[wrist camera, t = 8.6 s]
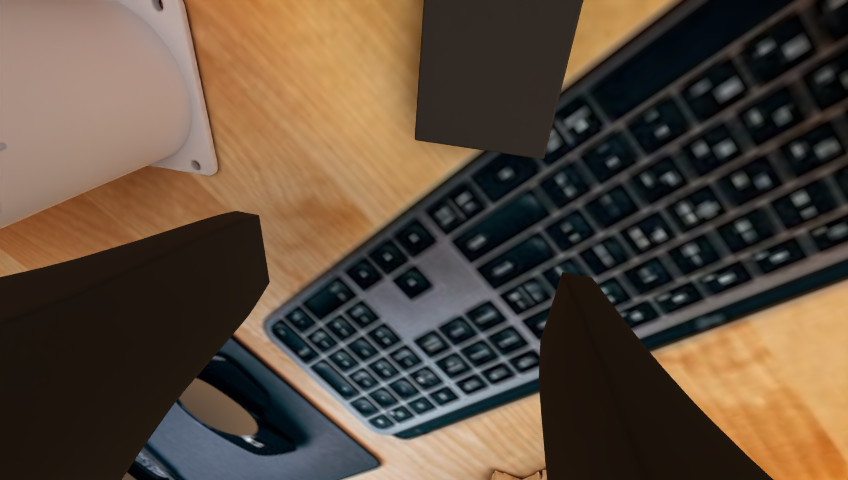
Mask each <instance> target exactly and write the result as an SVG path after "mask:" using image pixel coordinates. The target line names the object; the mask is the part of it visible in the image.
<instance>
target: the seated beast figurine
mask: <svg viewBox="0 0 848 480" xmlns="http://www.w3.org/2000/svg"><path fill="white" fill-rule="evenodd" d="M491 480H547V474H546V470H543V472H542V475H541V474H540V473H539V472H536V474H535V475H532V476H529V477H527V478H524V479H519V478H516V477H513V476H511V475H508V474H506V473H501V472H498V471H496V470H495V472H494V473H493V474H492V478H491Z"/></svg>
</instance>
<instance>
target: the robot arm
mask: <svg viewBox="0 0 848 480" xmlns="http://www.w3.org/2000/svg"><path fill="white" fill-rule="evenodd" d="M161 1H162V3H163V9H162V8H161V7H160V4H159V0H0V229H2V228H4V227H6V226H8V225H11V224H13V223H15V222H18V221H20V220H22V219H25V218H27V217H29V216H32V215H34V214H36V213H39V212H41V211H43V210H46V209H48V208H50V207H52V206H55V205H57V204H59V203H62V202H64V201H66V200H69V199H71V198H73V197H76V196H78V195H80V194H83V193H85V192H87V191H90V190H92V189H94V188H96V187H99V186H101V185H103V184H106V183H108V182H110V181H113V180H115V179H117V178H120V177H122V176H124V175H127V174H129V173H131V172H134V171H136V170H138V169H140V168H143V167H145V166H147V165H148V166H154V167H160V168H165V169H171V170H177V171H182V172H188V173H194V174H200V175H205V176H211V175H213V174H215V173H216V172H217V171H218V164H217V159H216V154H215V149H214V144H213V139H212V135H211V130H210V125H209V120H208V115H207V110H206V105H205V101H204V96H203V91H202V86H201V81H200V76H199V72H198V67H197V62H196V57H195V52H194V47H193V43H192V38H191V33H190V28H189V23H188V18H187V13H186V9H185V5H184V2H183V0H161ZM196 161H197V162H198V163H199V164H200V166H199V165H198V164H197V162H196ZM269 282H270V281H269V275H268V269H267V263H266V256H265V250H264V244H263V238H262V231H261V225H260V219H259V215H255V214H250V213H244V212H239V211H234V212H229V213H225V214H221V215H217V216H213V217H210V218H207V219H203V220H200V221H197V222H194V223H191V224H187V225H184V226H181V227H178V228H175V229H172V230H169V231H166V232H163V233H160V234H157V235H153V236H150V237H147V238H144V239H141V240H138V241H135V242H131V243H128V244H125V245H121V246H118V247H115V248H111V249H108V250H105V251H101V252H98V253H94V254H91V255H88V256H84V257H81V258H77V259H74V260H70V261H66V262H62V263H59V264H55V265H51V266H47V267H43V268H38V269H34V270H30V271H26V272H21V273H17V274H13V275H8V276H4V277H0V480H122V478H123V477H124V475H125V474H126V472H127V471H128V469H129V468H130V466H131V465H132V463H133V462H134V460H135V459H136V457H137V456H138V454H139V453H140V451H141V450H142V448H143V447H144V445H145V444H146V442H147V441H148V439H149V438H150V437H151V435H152V434H153V432H154V431H155V430H156V428H157V427H158V425H159V424H160V422H161V421H162V420H163V418H164V417H165V415H166V414H167V413H168V411H169V410H170V408H171V407H172V406H173V404H174V403H175V402H176V401H177V399H178V398H179V397H180V396H181V394H182V393H183V392H184V391H185V389H186V388H187V387H188V386H189V385H190V384H191V382H192V381H193V380H194V379H195V378H196V377H197V375H198V374H199V373H200V372H201V371H202V370H203V368H204V367H205V366H206V365H207V364H208V363H209V362H210V360H211V359H212V358H213V357H214V356H215V355H216V353H217V352H218V351H219V350H220V349H221V348H222V346H223V345H224V344H225V343H226V342H227V341H228V339H229V338H230V337H231V336H232V335H233V334H234V332H235V331H236V330H237V329H238V328H239V326H240V325H241V324H242V323H243V322H244V320H245V319H246V318H247V317H248V316H249V314H250V313H251V311H252V310H253V308H254V307H255V305H256V304H257V302H258V301H259V299H260V297H261V296H262V294H263V292H264V291H265V289H266V287H267V286H268V284H269ZM539 391H540V403H541V416H542V427H543V439H544V451H545V462H546V474H547V480H773V479H772V478H771V477H770V476H769V475H768V474H767V473H766V472H764V471H763V470H762V469H761V468H760V467H759V466H758V465H757V464H756V463H755V462H754V461H753V460H751V459H750V458H749V457H748V456H747V455H746V454H745V453H744V452H743V451H742V450H741V449H740V448H739V447H738V446H737V445H736V444H735V443H734V442H733V441H732V440H731V439H730V438H729V437H728V436H727V435H726V434H725V433H724V432H723V431H722V430H721V429H720V428H719V427H718V426H717V425H716V424H715V423H714V422H713V421H712V420H711V419H710V418H709V417H708V416H707V415H706V414H705V413H704V412H703V411H702V410H701V409H700V408H699V407H698V406H697V405H696V404H695V403H694V402H693V401H692V400H691V399H690V397H689V396H688V395H687V394H686V393H685V392H684V391H683V390H682V389H681V387H680V386H679V385H678V384H677V383H676V382H675V381H674V380H673V379H672V377H671V376H670V375H669V374H668V373H667V372H666V371H665V370H664V368H663V367H662V366H661V365H660V364H659V363H658V361H657V360H656V359H655V358H654V357H653V356H652V354H651V353H650V352H649V351H648V349H647V348H646V347H645V346H644V345H643V343H642V342H641V341H640V340H639V338H638V337H637V336H636V335H635V333H634V332H633V331H632V330H631V328H630V327H629V326H628V324H627V323H626V322H625V321H624V319H623V318H622V317H621V315H620V314H619V313H618V311H617V310H616V309H615V307H614V306H613V305H612V303H611V302H610V301H609V299H608V298H607V297H606V295H605V294H604V293H603V291H602V290H601V289H600V287H599V286H598V285H597V284H596V282H595V281H594V280H593V279H592V278H591V277H586V276H580V275H575V274H570V273H564V272H562V275H561V278H560V282H559V285H558V288H557V291H556V294H555V297H554V300H553V303H552V306H551V309H550V312H549V316H548V319H547V322H546V325H545V328H544V331H543V334H542V337H541V341H540V362H539Z"/></svg>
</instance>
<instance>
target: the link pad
mask: <svg viewBox="0 0 848 480" xmlns="http://www.w3.org/2000/svg"><path fill="white" fill-rule="evenodd" d="M582 3H583V0H424V6H423V21H422V36H421V52H420V67H419V82H418V97H417V112H416V128H415V140H418V141H425V142H432V143H439V144H445V145H452V146H459V147H466V148H472V149H479V150H486V151H493V152H499V153H506V154H513V155H520V156H526V157H533V158H540V159H543V158H544V157H545V153H546V149H547V145H548V141H549V137H550V133H551V129H552V125H553V121H554V117H555V112H556V108H557V104H558V100H559V96H560V92H561V88H562V84H563V80H564V76H565V72H566V68H567V64H568V60H569V56H570V52H571V48H572V44H573V40H574V36H575V31H576V27H577V23H578V19H579V15H580V11H581V7H582Z"/></svg>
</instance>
